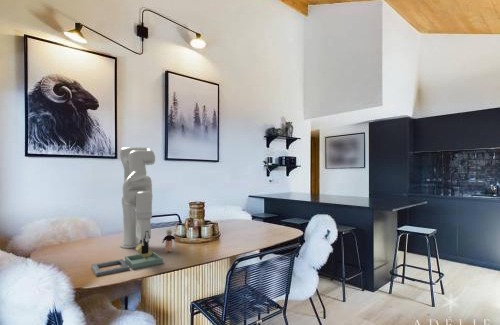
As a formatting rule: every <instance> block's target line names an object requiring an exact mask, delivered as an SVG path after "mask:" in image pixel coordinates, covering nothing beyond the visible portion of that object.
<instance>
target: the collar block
mask: <svg viewBox="0 0 500 325" xmlns="http://www.w3.org/2000/svg"><path fill="white" fill-rule="evenodd" d="M115 265H119V267H113V268H106V269H103V270H101V268H105V267H110V266H115ZM90 266H91V270H92V271H93V273H94V275H95V277H100V276H106V275H111V274H115V273H116V274H117V273H121V272H122V273H123V272H126V271H130V269H131V267H130V266H129V265H128V264H127V263H126V262H125V259H123V258H121V259H116V260H115V259H114V260H109V261H104V262H99V263H91V264H90Z"/></svg>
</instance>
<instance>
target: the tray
mask: <svg viewBox="0 0 500 325" xmlns="http://www.w3.org/2000/svg"><path fill="white" fill-rule="evenodd" d="M151 252H152V253H153V254H152V255H151V256H150V257H149V258H148V259H147V260H146V259H145V258H144V257H143V256H142V255H141V254H140V253H138V254H132V255H131V254H130V255H128V256H127V255H126V256H124V261H125V262H126V263H127V264H128V265H129V267H130V269H131V270H132V271H133V270H137V269H143V268H147V267H152V266H157V265H158V266H159V265H162V264H164V258H163V257H162V256H161V255H159V254H157V253H156V252H154V251H151Z"/></svg>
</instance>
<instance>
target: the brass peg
mask: <svg viewBox="0 0 500 325" xmlns="http://www.w3.org/2000/svg"><path fill="white" fill-rule="evenodd" d="M134 249H135V250H136V251H137V252H138V254H141V255H142V256H143V257H144V258H145V259H146V260H147V259H148V258H149V257H150V256H151V255H152V254H153V253H152V252H153V251H151V250H150V249H149V252H148V253H146V254H142V243H140V244H139V245H138V246H137V247H134Z"/></svg>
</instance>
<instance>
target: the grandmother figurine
mask: <svg viewBox="0 0 500 325" xmlns="http://www.w3.org/2000/svg"><path fill="white" fill-rule="evenodd" d="M172 234H173V230H172V229H166V236H164V238H163V239H162V241H161V243H162V244H165V246H164V247H165V248H164V253H166V252H167V253H172V251H173V242H177V239H176V237H175V236H174V235H172Z"/></svg>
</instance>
